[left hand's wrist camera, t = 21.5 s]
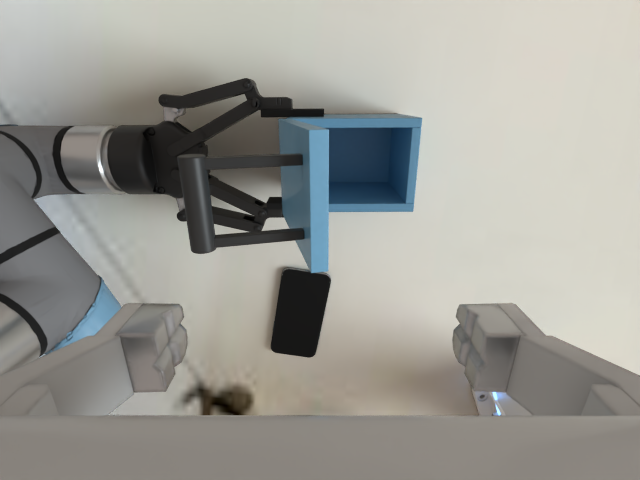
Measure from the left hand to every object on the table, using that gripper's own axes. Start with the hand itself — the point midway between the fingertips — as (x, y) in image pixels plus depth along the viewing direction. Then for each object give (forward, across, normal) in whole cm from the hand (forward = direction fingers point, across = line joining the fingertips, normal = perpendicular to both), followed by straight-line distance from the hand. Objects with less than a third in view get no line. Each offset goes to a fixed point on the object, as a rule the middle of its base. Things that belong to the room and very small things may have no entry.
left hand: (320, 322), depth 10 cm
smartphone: (+38, +3, +24) cm, 45 cm away
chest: (+38, -3, 0) cm, 38 cm away
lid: (+19, +1, 0) cm, 19 cm away
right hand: (+31, 0, 0) cm, 31 cm away
